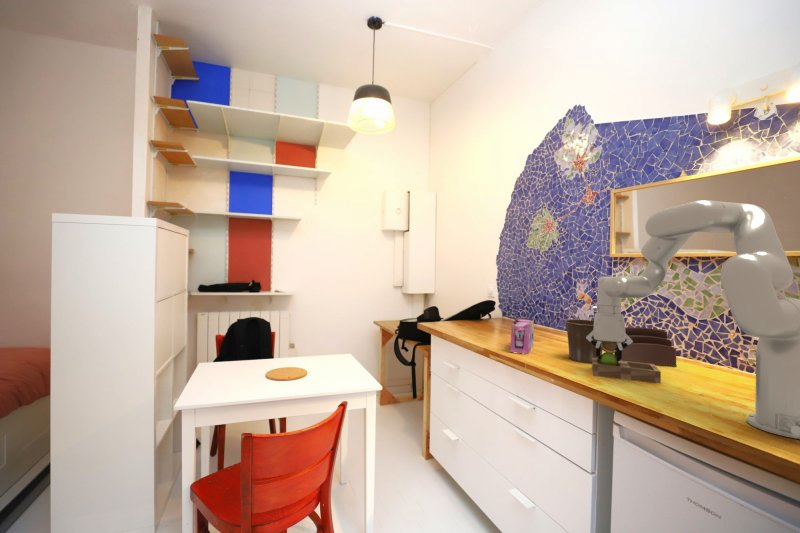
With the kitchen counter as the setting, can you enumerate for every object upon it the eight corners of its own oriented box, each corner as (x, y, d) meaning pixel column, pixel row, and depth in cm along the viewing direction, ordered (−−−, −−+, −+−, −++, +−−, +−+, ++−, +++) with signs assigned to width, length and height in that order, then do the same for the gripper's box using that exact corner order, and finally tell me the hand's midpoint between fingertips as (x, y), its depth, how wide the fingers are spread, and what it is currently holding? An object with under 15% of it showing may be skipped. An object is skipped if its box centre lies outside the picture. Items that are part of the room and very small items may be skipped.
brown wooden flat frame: (660, 383, 124) (660, 371, 124) (593, 375, 133) (593, 364, 133) (653, 374, 135) (653, 363, 135) (591, 367, 143) (592, 357, 143)
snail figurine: (598, 363, 140) (599, 332, 140) (618, 367, 136) (619, 334, 136) (595, 366, 136) (596, 333, 136) (615, 370, 132) (616, 336, 132)
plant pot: (603, 367, 145) (604, 326, 145) (559, 360, 154) (560, 321, 155) (609, 359, 158) (610, 321, 158) (569, 354, 167) (569, 318, 168)
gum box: (527, 355, 163) (528, 324, 163) (509, 353, 166) (509, 323, 166) (533, 346, 184) (534, 318, 184) (517, 344, 188) (517, 317, 188)
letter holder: (613, 357, 162) (614, 325, 162) (666, 362, 157) (666, 328, 157) (620, 363, 153) (620, 329, 153) (676, 367, 147) (677, 332, 147)
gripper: (583, 309, 136) (582, 359, 136) (638, 312, 129) (637, 364, 129) (582, 308, 143) (582, 355, 143) (634, 310, 136) (634, 360, 135)
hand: (608, 359), depth 136 cm, fingers closed on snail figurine, 5 cm apart
